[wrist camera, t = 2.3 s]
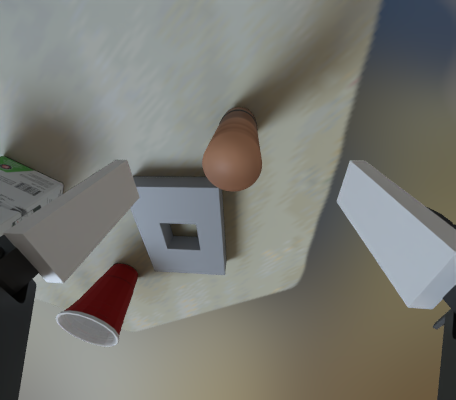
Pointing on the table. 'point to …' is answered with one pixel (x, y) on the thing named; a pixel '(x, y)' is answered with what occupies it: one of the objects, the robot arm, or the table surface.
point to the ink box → (23, 192)
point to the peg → (234, 152)
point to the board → (181, 214)
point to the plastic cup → (101, 307)
